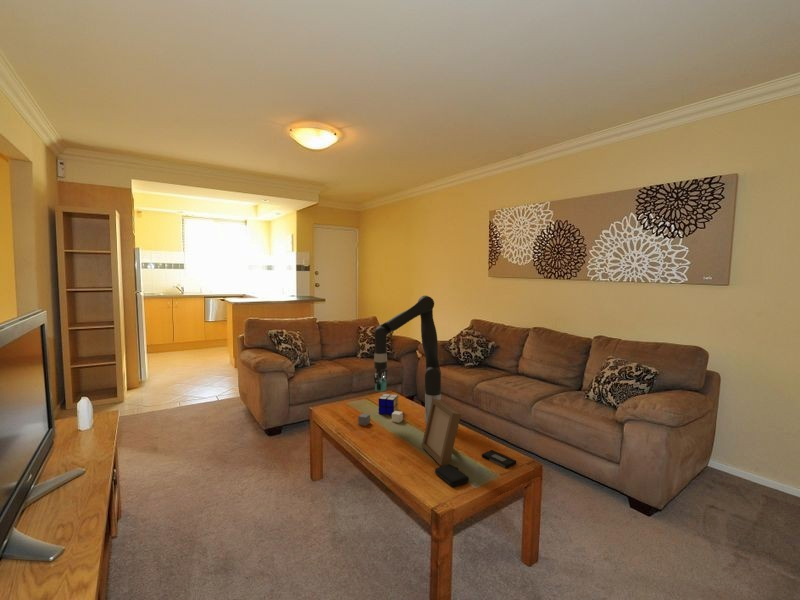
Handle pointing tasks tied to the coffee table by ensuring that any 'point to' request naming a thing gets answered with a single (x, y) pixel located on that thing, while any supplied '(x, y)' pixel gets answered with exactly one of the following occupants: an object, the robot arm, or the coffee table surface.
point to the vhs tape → (499, 459)
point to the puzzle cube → (388, 404)
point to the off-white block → (397, 416)
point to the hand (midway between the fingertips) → (380, 388)
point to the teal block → (383, 385)
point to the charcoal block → (364, 419)
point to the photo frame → (441, 431)
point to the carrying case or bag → (451, 475)
